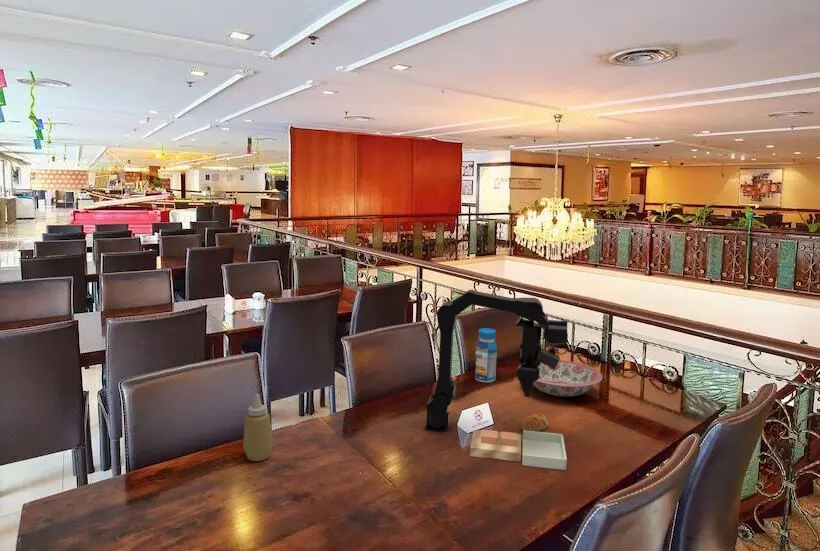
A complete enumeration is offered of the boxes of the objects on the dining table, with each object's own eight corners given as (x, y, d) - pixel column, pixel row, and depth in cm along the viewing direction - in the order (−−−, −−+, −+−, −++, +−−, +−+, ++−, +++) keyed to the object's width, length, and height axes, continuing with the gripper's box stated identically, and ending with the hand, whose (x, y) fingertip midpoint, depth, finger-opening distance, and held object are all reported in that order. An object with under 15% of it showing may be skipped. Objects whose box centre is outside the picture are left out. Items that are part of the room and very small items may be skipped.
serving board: (469, 456, 154) (470, 447, 154) (473, 437, 166) (473, 429, 165) (520, 461, 151) (521, 453, 151) (520, 442, 163) (521, 434, 163)
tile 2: (500, 444, 156) (500, 438, 155) (501, 437, 160) (501, 431, 160) (516, 446, 155) (516, 439, 155) (516, 439, 159) (517, 433, 159)
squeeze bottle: (279, 452, 154) (278, 391, 151) (262, 466, 147) (260, 401, 144) (254, 447, 157) (253, 387, 154) (237, 460, 149) (235, 397, 146)
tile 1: (481, 442, 157) (481, 436, 157) (482, 435, 161) (482, 429, 161) (496, 444, 156) (497, 437, 156) (497, 437, 160) (497, 431, 160)
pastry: (531, 436, 168) (531, 424, 167) (514, 428, 173) (514, 417, 173) (550, 428, 174) (550, 416, 173) (533, 421, 179) (533, 409, 179)
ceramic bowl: (609, 388, 209) (610, 368, 208) (588, 413, 185) (590, 391, 184) (535, 373, 225) (536, 355, 223) (507, 395, 200) (508, 374, 199)
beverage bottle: (497, 383, 213) (499, 333, 210) (475, 382, 213) (477, 332, 210) (494, 375, 221) (496, 327, 218) (473, 375, 221) (475, 327, 218)
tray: (522, 465, 149) (522, 455, 149) (522, 439, 165) (523, 430, 164) (566, 470, 147) (566, 459, 147) (562, 443, 163) (562, 434, 162)
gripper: (559, 352, 152) (555, 406, 154) (558, 335, 169) (555, 383, 172) (518, 348, 154) (515, 401, 157) (522, 332, 172) (519, 380, 175)
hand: (527, 391), depth 165 cm, fingers open, 9 cm apart
